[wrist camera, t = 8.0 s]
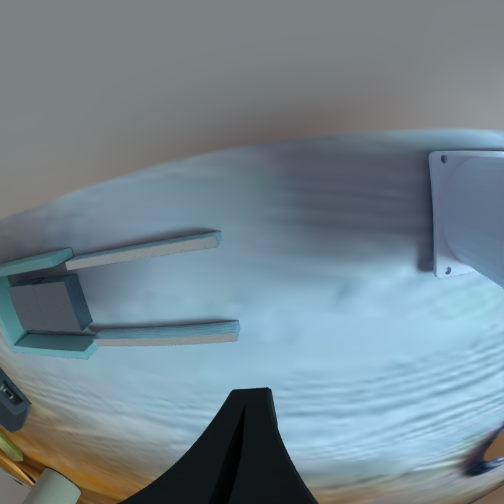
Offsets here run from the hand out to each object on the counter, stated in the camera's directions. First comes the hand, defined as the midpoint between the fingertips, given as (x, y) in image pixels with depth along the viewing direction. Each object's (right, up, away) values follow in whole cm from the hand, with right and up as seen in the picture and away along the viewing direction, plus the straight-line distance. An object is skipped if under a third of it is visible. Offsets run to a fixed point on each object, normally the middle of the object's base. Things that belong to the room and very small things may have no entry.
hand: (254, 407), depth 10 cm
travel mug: (-35, -36, +23) cm, 55 cm away
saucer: (-49, -32, +23) cm, 62 cm away
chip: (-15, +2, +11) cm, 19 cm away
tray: (-18, +1, +11) cm, 21 cm away
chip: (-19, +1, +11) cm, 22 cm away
